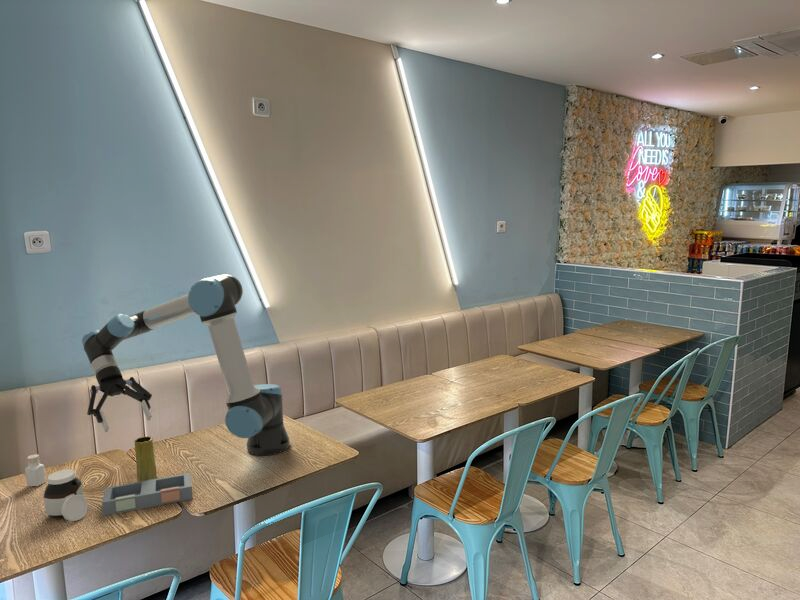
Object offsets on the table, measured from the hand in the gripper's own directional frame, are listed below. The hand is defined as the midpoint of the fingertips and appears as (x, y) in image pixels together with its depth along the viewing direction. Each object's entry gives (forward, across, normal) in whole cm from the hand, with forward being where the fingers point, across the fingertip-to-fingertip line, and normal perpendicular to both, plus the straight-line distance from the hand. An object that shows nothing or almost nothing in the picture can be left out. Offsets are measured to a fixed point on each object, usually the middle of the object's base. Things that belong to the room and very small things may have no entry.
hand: (129, 424), depth 191 cm
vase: (+20, 0, -4) cm, 20 cm away
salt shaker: (+1, +24, -23) cm, 33 cm away
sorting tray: (+28, +4, +4) cm, 29 cm away
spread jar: (+22, +24, -2) cm, 32 cm away
